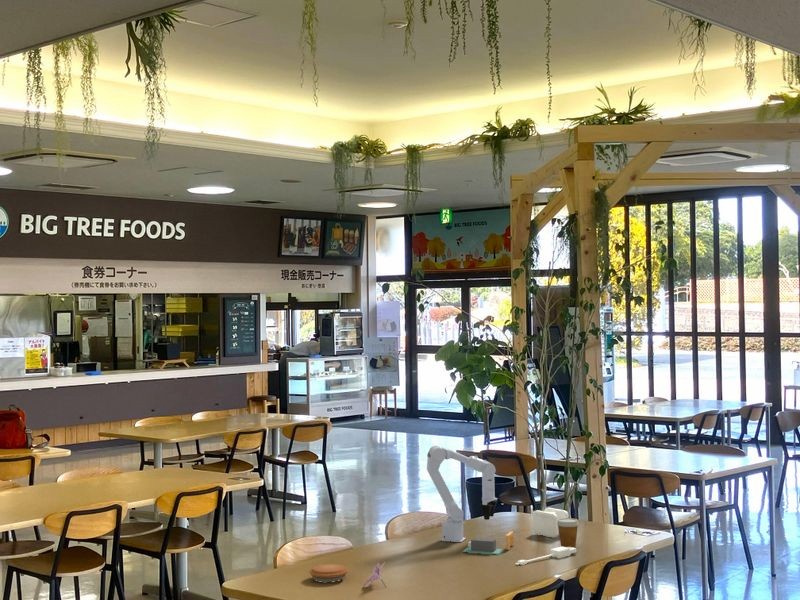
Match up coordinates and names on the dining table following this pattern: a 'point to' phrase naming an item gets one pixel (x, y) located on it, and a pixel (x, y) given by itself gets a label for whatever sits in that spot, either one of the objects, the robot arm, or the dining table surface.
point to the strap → (509, 540)
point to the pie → (328, 572)
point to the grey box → (482, 544)
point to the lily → (375, 574)
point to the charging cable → (552, 554)
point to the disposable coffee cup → (568, 531)
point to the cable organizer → (547, 521)
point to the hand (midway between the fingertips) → (488, 517)
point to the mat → (483, 552)
